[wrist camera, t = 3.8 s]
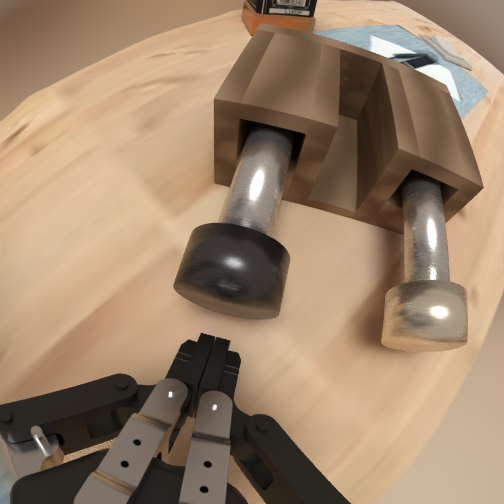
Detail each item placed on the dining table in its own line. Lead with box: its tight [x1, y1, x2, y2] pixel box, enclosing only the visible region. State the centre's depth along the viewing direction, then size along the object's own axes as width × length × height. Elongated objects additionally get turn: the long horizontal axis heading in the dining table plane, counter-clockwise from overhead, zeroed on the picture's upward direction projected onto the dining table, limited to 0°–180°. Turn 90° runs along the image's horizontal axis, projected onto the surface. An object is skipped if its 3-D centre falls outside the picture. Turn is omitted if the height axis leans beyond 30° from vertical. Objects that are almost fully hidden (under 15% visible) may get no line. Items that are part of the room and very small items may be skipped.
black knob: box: [173, 122, 296, 319], centre depth 18 cm, size 6×15×6 cm, turn 167°
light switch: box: [419, 34, 472, 70], centre depth 49 cm, size 11×4×13 cm
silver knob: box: [381, 169, 468, 352], centre depth 18 cm, size 6×15×6 cm, turn 167°
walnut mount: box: [214, 23, 484, 234], centre depth 24 cm, size 20×14×9 cm
